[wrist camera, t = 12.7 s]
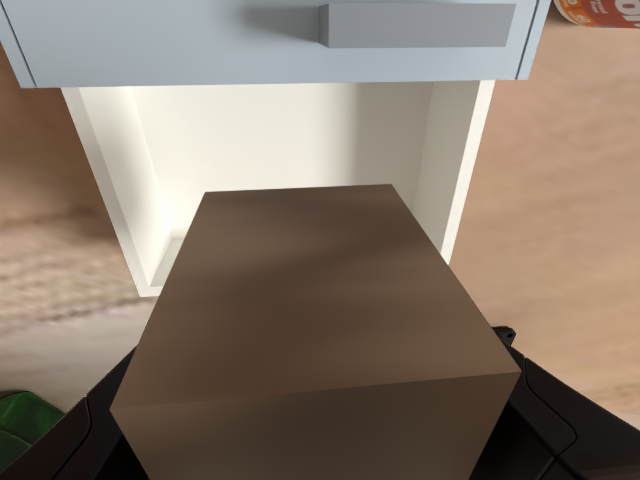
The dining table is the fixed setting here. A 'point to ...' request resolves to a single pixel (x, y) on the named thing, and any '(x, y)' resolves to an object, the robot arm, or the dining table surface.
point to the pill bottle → (601, 12)
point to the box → (23, 424)
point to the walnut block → (312, 347)
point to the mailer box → (273, 151)
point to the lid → (267, 41)
